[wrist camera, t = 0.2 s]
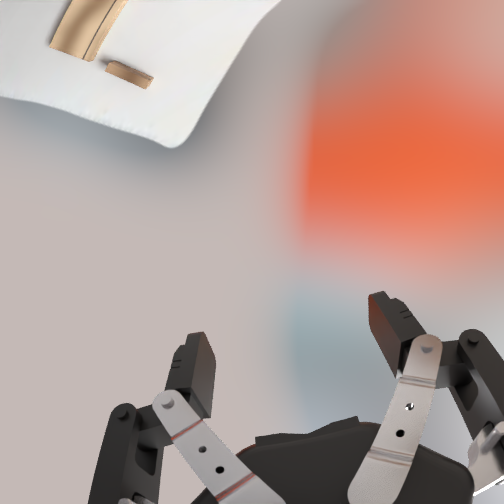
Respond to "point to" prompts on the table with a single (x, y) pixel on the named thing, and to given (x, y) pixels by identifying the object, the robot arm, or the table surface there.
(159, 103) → the table surface
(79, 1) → the board
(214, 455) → the robot arm
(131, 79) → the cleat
